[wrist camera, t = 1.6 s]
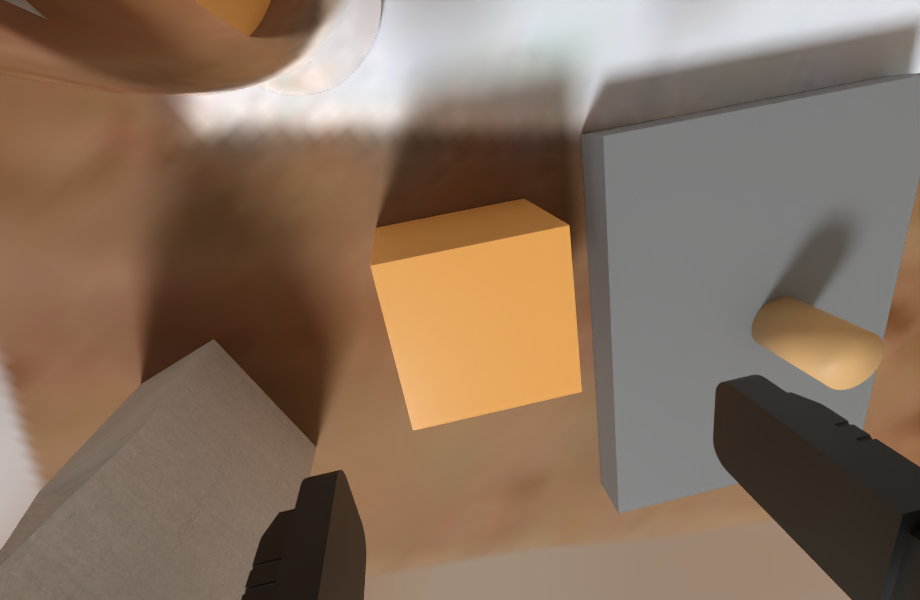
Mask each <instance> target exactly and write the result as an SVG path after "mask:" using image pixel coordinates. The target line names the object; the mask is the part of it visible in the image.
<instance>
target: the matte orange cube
mask: <svg viewBox="0 0 920 600" xmlns="http://www.w3.org/2000/svg"><path fill="white" fill-rule="evenodd" d="M371 270H372V274H373V278H374V281H375V285H376V289H377V293H378V297H379V301H380V305H381V308H382V312H383V316H384V320H385V324H386V328H387V332H388V335H389V339H390V343H391V347H392V351H393V355H394V359H395V363H396V366H397V370H398V374H399V378H400V382H401V386H402V390H403V393H404V397H405V401H406V405H407V409H408V413H409V417H410V421H411V424H412V428H413V431H414V430H418V429H422V428H427V427H431V426H435V425H440V424H444V423H448V422H453V421H457V420H461V419H466V418H470V417H474V416H479V415H483V414H487V413H492V412H496V411H501V410H505V409H509V408H514V407H518V406H522V405H527V404H531V403H535V402H540V401H544V400H548V399H553V398H557V397H561V396H566V395H570V394H575V393H579V392H582V388H581V374H580V361H579V347H578V334H577V320H576V307H575V293H574V280H573V266H572V253H571V239H570V226H569V225H568V224H567V223H565V222H563V221H562V220H560V219H558V218H556V217H555V216H553V215H551V214H550V213H548V212H546V211H545V210H543V209H541V208H540V207H538V206H536V205H535V204H533V203H531V202H529V201H528V200H526V199H524V198H523V199H518V200H513V201H508V202H503V203H498V204H493V205H488V206H483V207H478V208H473V209H468V210H463V211H458V212H453V213H447V214H442V215H437V216H432V217H427V218H422V219H417V220H412V221H407V222H402V223H397V224H392V225H387V226H382V227H377V228H376V229H375V237H374V244H373V251H372V258H371Z"/></svg>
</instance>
